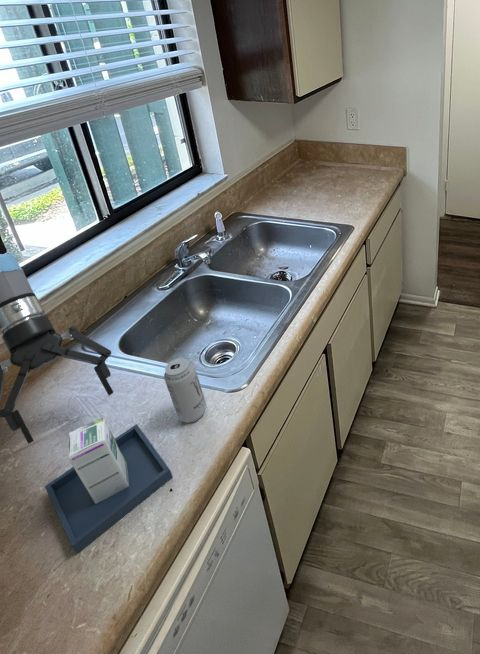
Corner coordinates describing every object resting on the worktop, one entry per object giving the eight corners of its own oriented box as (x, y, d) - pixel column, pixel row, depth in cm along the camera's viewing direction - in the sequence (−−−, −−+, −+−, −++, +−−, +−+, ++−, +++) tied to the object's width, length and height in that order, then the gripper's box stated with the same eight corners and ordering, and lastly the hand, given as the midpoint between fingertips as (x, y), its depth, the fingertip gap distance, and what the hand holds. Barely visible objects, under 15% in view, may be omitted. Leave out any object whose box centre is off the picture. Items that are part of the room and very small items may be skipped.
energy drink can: (205, 420, 98) (190, 373, 92) (176, 428, 97) (159, 380, 90) (208, 398, 103) (194, 352, 97) (181, 405, 102) (164, 358, 95)
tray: (49, 494, 84) (44, 486, 83) (139, 431, 96) (136, 423, 95) (77, 554, 75) (71, 546, 74) (172, 477, 87) (169, 469, 86)
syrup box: (129, 487, 85) (106, 438, 79) (94, 506, 82) (67, 457, 76) (127, 463, 89) (105, 415, 83) (92, 480, 86) (67, 432, 80)
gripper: (-65, 358, 77) (-11, 465, 75) (94, 289, 95) (141, 374, 92) (-57, 365, 83) (-6, 465, 80) (93, 298, 100) (137, 379, 98)
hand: (73, 416), depth 86 cm, fingers open, 13 cm apart
